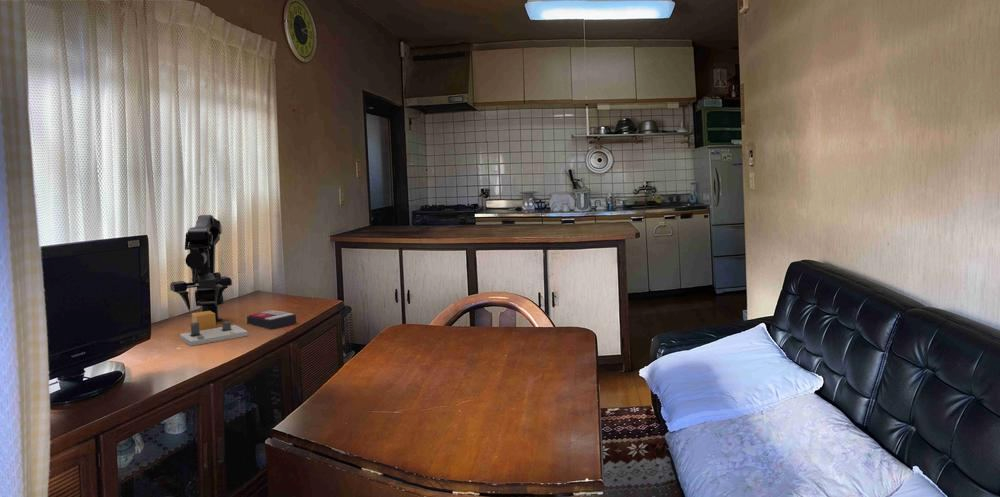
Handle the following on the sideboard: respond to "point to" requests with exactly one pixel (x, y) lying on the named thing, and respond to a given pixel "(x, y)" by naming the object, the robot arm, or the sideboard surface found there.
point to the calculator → (271, 319)
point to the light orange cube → (204, 320)
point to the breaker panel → (213, 335)
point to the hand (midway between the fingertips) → (203, 307)
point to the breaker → (195, 329)
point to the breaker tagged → (226, 326)
